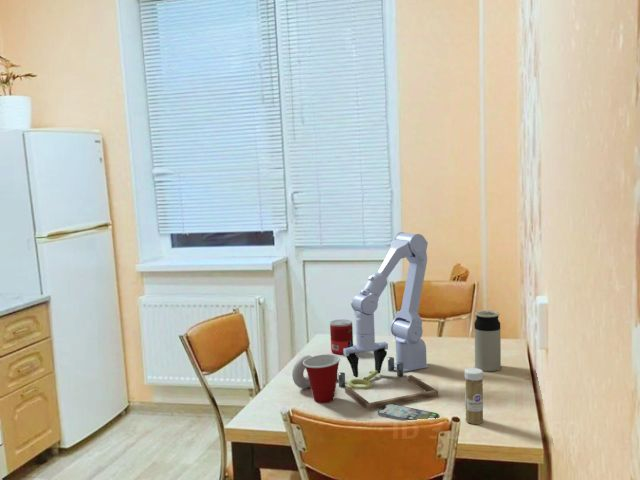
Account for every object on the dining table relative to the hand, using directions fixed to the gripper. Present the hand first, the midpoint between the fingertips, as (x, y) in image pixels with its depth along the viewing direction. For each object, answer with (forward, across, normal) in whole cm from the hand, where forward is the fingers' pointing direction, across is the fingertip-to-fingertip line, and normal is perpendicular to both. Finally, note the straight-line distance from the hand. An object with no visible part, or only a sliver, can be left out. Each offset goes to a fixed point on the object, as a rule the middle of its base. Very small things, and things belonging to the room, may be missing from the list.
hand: (366, 374), depth 192 cm
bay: (+1, 0, +15) cm, 15 cm away
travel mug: (+1, -38, +10) cm, 39 cm away
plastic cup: (+1, +19, +10) cm, 22 cm away
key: (+2, +2, +4) cm, 5 cm away
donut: (+1, +20, 0) cm, 20 cm away
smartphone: (+2, +3, +31) cm, 32 cm away
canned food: (+1, -4, -29) cm, 29 cm away
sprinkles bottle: (+1, -10, +42) cm, 44 cm away
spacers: (+1, 0, 0) cm, 1 cm away
